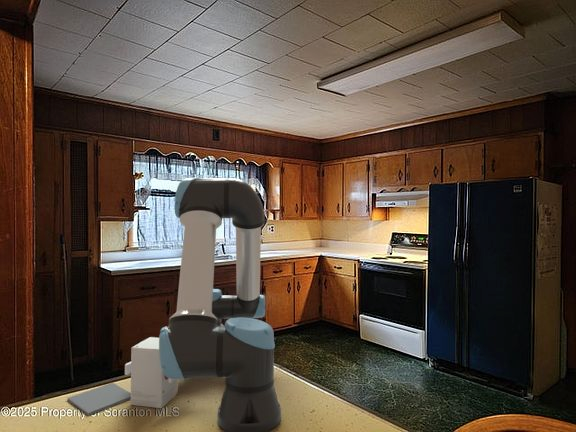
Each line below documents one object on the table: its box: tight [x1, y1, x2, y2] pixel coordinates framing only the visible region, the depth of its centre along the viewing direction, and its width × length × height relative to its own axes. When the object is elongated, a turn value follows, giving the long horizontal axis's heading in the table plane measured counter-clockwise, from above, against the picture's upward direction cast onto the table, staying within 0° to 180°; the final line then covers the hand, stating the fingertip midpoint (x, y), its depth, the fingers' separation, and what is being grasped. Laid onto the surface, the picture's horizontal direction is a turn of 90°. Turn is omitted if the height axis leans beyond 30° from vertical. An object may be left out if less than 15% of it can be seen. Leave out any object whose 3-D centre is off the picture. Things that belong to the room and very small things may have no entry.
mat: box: [67, 382, 131, 416], centre depth 103 cm, size 12×12×1 cm
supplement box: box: [130, 336, 179, 409], centre depth 103 cm, size 9×9×15 cm
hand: (147, 373), depth 100 cm, fingers open, 13 cm apart
